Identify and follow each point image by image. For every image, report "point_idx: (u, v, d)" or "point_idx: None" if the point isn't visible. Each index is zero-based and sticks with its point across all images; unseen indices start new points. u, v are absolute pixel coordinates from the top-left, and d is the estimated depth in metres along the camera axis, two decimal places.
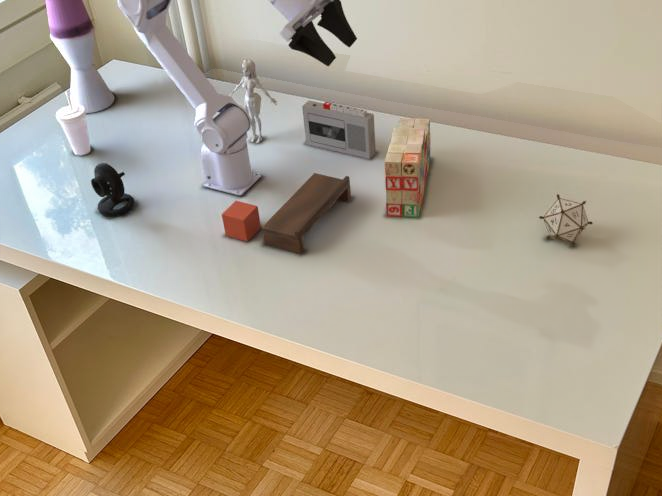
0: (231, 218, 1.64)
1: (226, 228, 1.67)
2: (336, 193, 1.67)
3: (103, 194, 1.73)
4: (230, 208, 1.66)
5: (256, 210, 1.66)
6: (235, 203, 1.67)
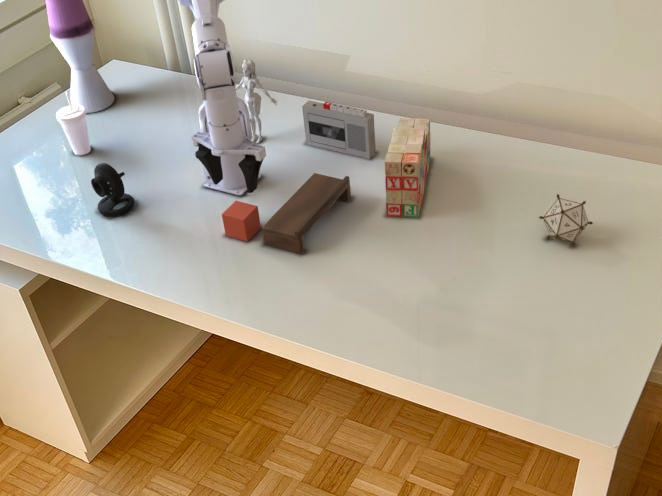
0: (231, 218, 1.64)
1: (226, 228, 1.67)
2: (336, 193, 1.67)
3: (103, 194, 1.73)
4: (230, 208, 1.66)
5: (256, 210, 1.66)
6: (235, 203, 1.67)
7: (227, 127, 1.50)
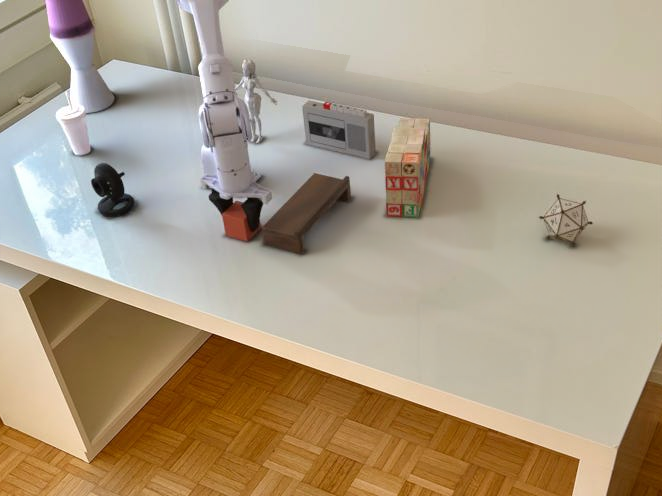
0: (231, 218, 1.64)
1: (226, 228, 1.67)
2: (336, 193, 1.67)
3: (103, 194, 1.73)
4: (230, 208, 1.66)
5: None
6: (235, 203, 1.67)
7: (235, 172, 1.56)
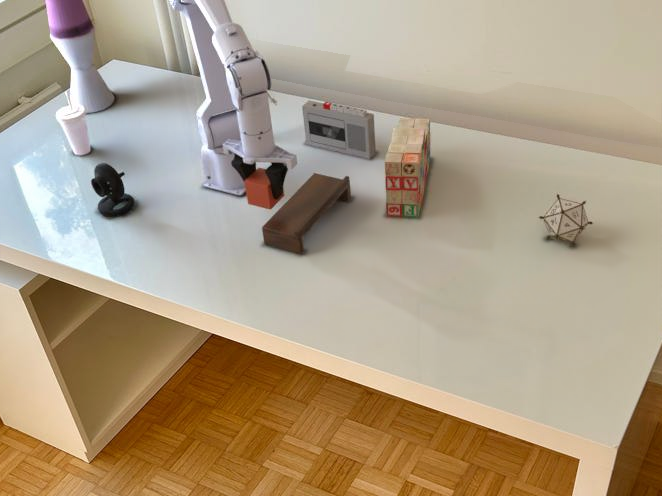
0: (254, 184, 1.59)
1: (249, 196, 1.61)
2: (336, 193, 1.67)
3: (103, 194, 1.73)
4: (253, 175, 1.60)
5: None
6: (258, 170, 1.61)
7: (259, 135, 1.51)
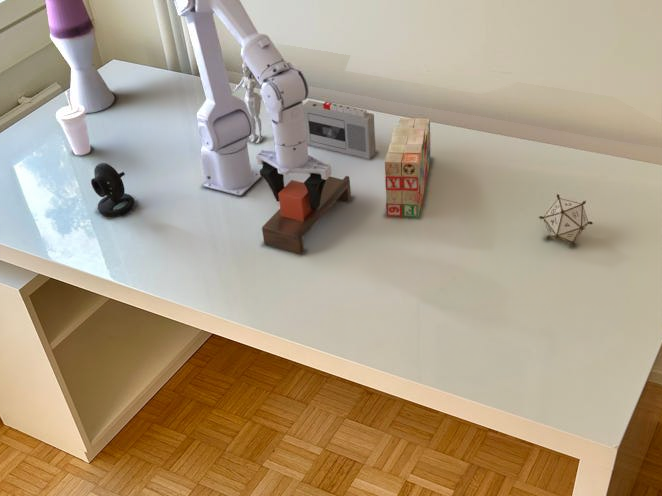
0: (288, 197, 1.60)
1: (282, 208, 1.63)
2: (336, 193, 1.67)
3: (103, 194, 1.73)
4: (286, 187, 1.62)
5: None
6: (291, 182, 1.63)
7: (294, 146, 1.52)
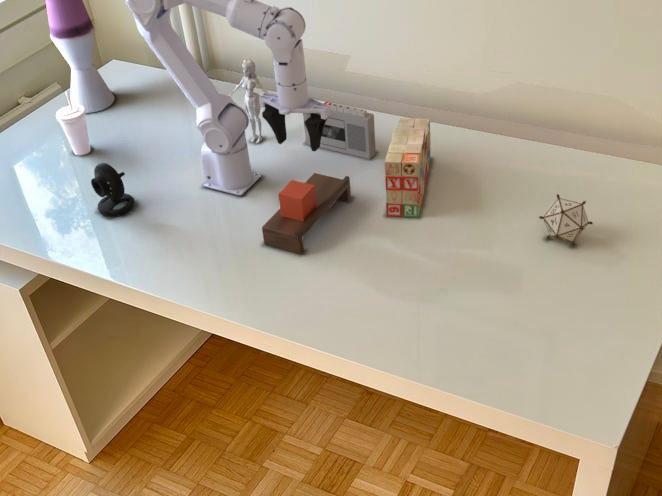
0: (288, 197, 1.60)
1: (282, 208, 1.63)
2: (336, 193, 1.67)
3: (103, 194, 1.73)
4: (286, 187, 1.62)
5: (313, 189, 1.62)
6: (291, 182, 1.63)
7: (295, 86, 1.59)
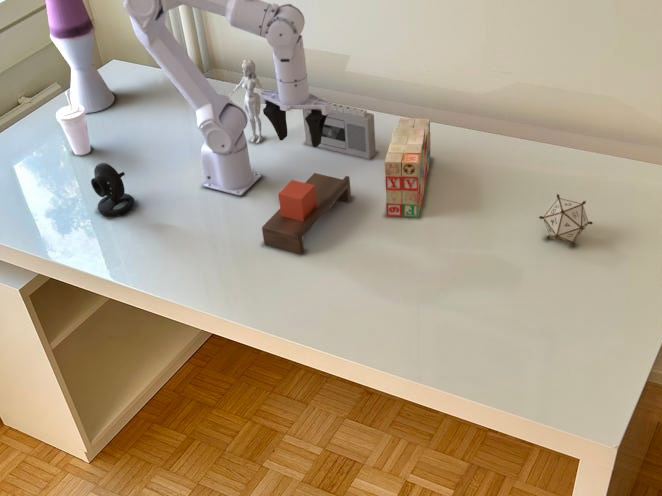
0: (288, 197, 1.60)
1: (282, 208, 1.63)
2: (336, 193, 1.67)
3: (103, 194, 1.73)
4: (286, 187, 1.62)
5: (313, 189, 1.62)
6: (291, 182, 1.63)
7: (295, 83, 1.60)
